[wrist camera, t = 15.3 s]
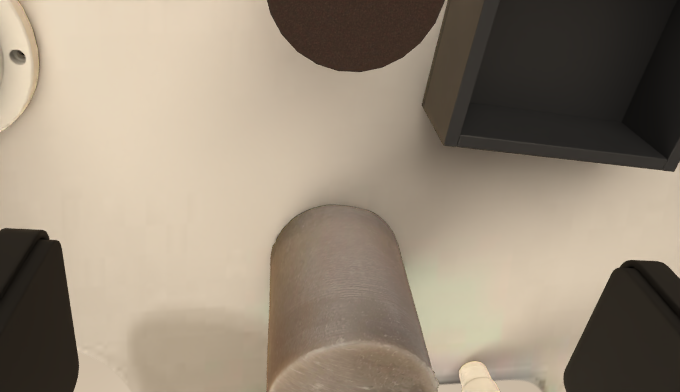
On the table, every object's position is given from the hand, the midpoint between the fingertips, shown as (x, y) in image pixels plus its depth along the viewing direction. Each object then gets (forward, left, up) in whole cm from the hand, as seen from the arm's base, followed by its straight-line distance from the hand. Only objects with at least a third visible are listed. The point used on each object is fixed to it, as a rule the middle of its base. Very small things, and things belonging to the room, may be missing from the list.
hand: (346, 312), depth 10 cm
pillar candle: (+5, -19, -27) cm, 33 cm away
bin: (+16, 0, -27) cm, 31 cm away
